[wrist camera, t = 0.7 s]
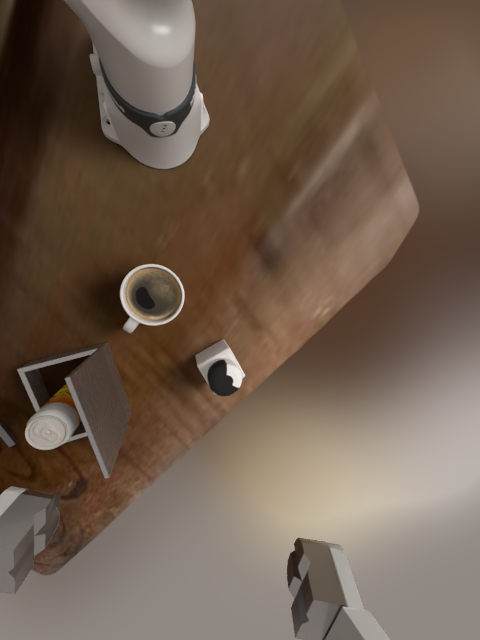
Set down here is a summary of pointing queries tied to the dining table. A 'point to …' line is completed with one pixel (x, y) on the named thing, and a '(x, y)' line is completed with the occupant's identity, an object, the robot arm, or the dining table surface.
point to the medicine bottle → (220, 369)
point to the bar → (7, 435)
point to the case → (88, 398)
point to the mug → (151, 296)
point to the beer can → (53, 421)
